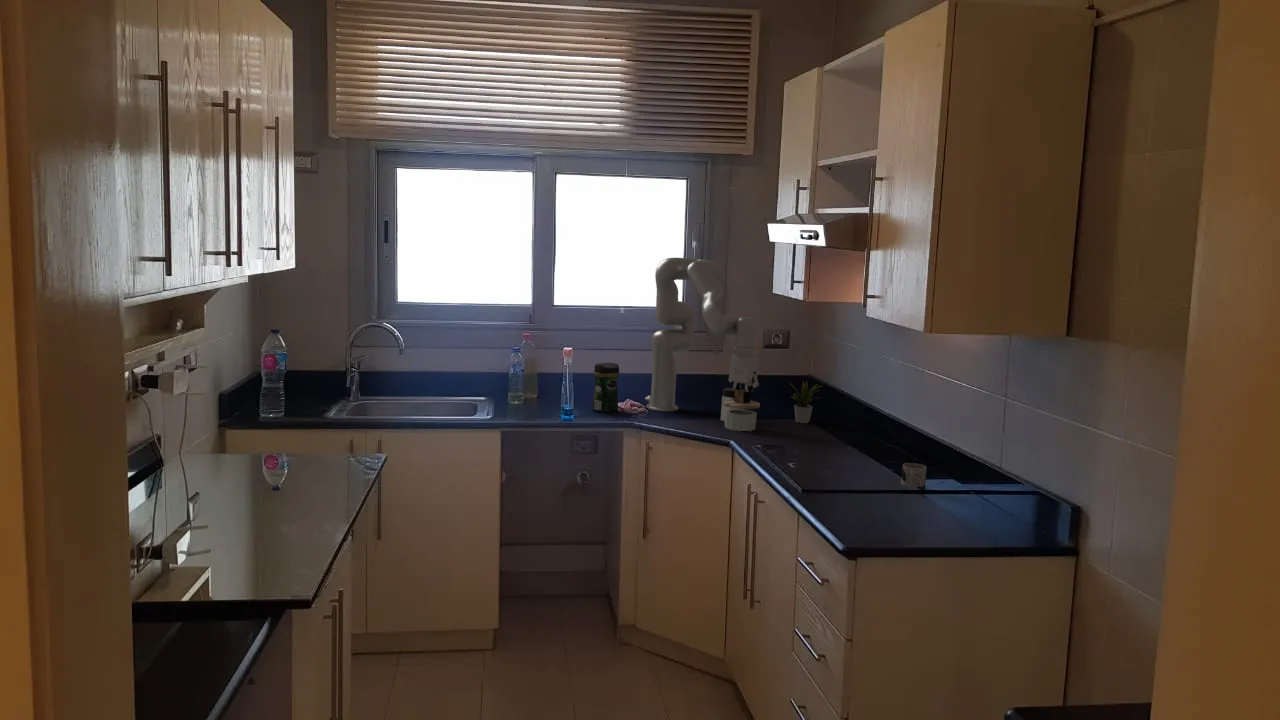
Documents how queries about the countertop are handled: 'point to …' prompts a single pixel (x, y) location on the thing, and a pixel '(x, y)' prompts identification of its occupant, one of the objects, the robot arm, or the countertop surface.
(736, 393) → the lid
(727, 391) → the jar
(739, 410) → the bowl
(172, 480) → the countertop surface
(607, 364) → the coffee jar
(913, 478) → the mug
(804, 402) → the house plant
